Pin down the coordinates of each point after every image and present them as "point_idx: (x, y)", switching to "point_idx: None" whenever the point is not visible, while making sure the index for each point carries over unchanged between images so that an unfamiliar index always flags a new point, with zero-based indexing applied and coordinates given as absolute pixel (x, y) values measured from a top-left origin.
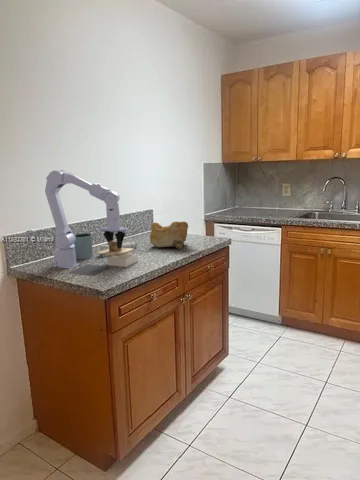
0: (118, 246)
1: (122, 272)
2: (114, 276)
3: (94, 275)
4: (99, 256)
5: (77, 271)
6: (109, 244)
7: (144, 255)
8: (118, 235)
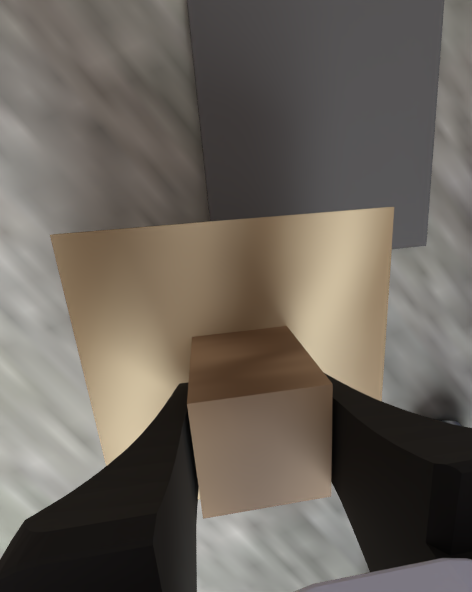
0: (177, 390)
1: (68, 202)
2: (43, 83)
3: (187, 3)
4: (456, 422)
5: (390, 52)
6: (303, 362)
7: (217, 560)
8: (48, 522)
